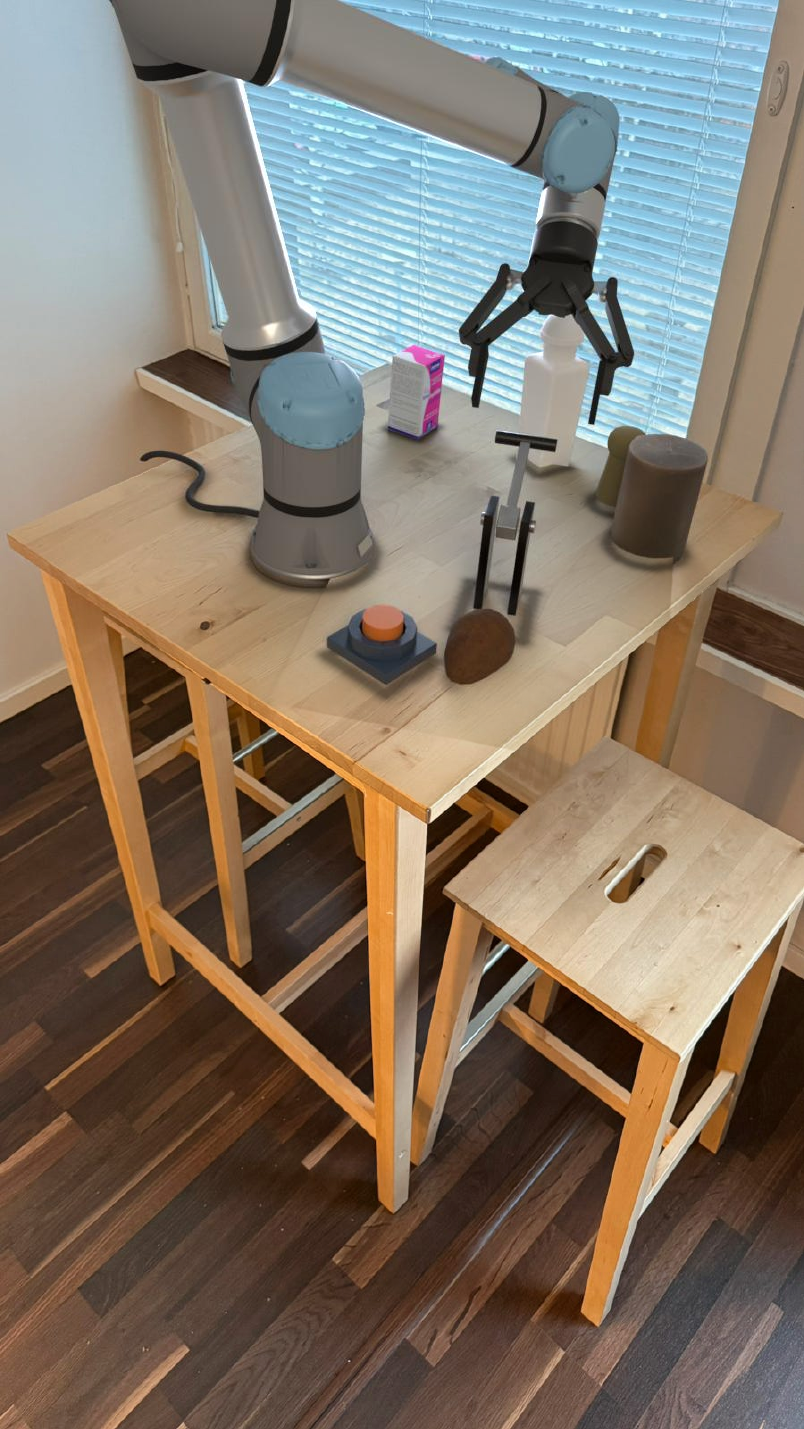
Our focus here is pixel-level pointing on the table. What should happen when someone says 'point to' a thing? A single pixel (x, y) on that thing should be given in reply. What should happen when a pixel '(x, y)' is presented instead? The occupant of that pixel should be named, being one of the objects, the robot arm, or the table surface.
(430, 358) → the supplement box
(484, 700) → the table surface
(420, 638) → the button block
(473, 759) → the table surface
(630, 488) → the pillar candle
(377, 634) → the button
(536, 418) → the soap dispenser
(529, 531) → the lever bracket
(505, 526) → the lever
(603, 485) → the olive pawn
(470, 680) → the potato
